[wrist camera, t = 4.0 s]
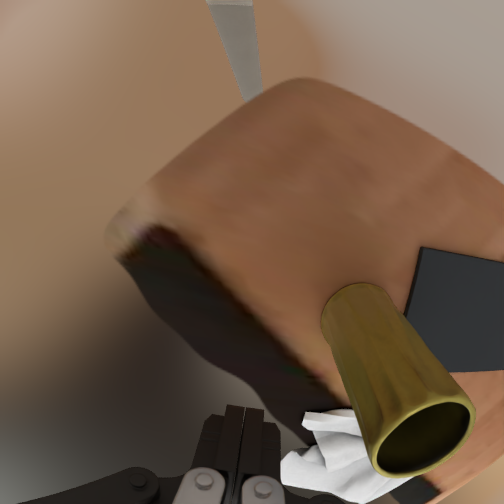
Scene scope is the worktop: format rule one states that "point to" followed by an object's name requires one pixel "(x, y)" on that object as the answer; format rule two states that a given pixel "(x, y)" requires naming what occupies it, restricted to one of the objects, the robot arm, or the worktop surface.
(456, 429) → the vase
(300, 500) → the robot arm
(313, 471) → the cloth
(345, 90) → the worktop surface
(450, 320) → the mat
